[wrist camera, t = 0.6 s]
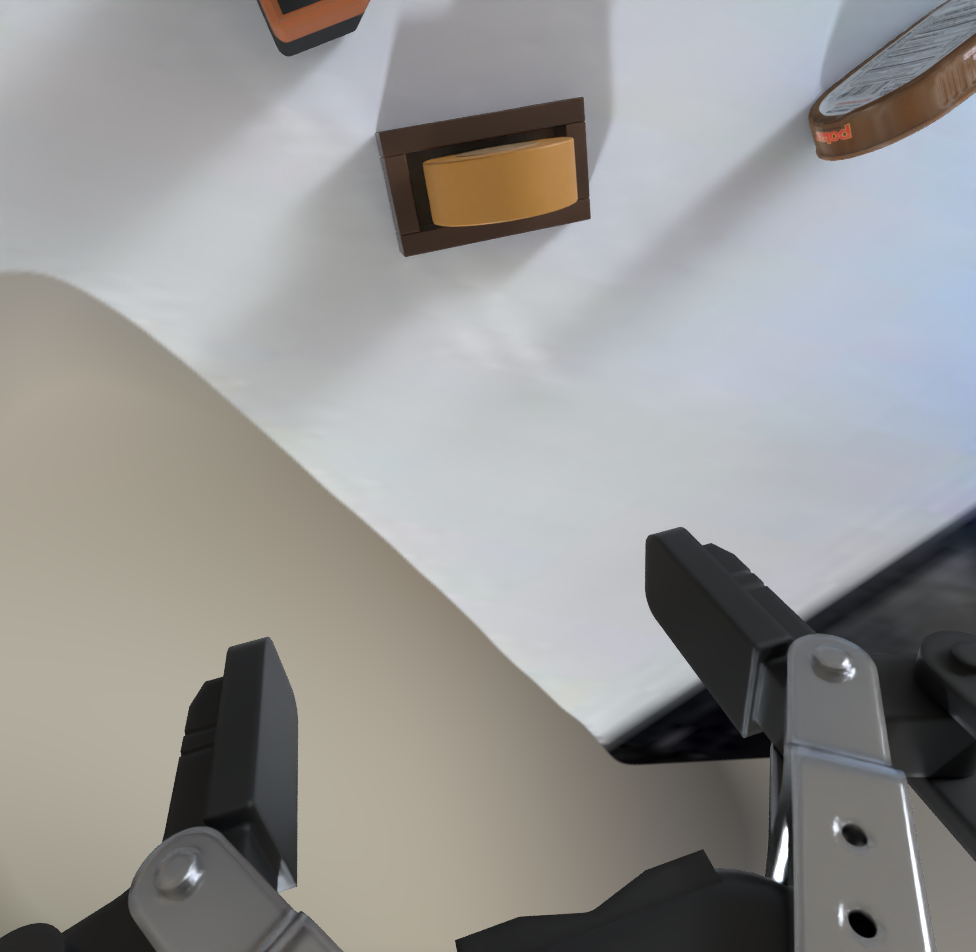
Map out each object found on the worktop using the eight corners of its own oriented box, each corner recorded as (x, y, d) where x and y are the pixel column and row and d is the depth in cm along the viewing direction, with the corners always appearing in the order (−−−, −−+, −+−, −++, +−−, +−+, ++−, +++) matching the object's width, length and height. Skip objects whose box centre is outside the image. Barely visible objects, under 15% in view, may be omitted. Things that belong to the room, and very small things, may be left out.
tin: (788, 163, 41) (891, 168, 34) (774, 117, 39) (879, 112, 32) (984, 16, 40) (1133, -12, 33) (978, -37, 38) (1134, -79, 31)
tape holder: (374, 132, 34) (378, 132, 32) (570, 98, 36) (584, 96, 34) (399, 252, 37) (404, 257, 36) (578, 215, 39) (591, 219, 37)
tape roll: (412, 159, 35) (436, 164, 28) (544, 136, 36) (597, 134, 30) (423, 217, 37) (447, 235, 30) (549, 193, 38) (601, 204, 31)
